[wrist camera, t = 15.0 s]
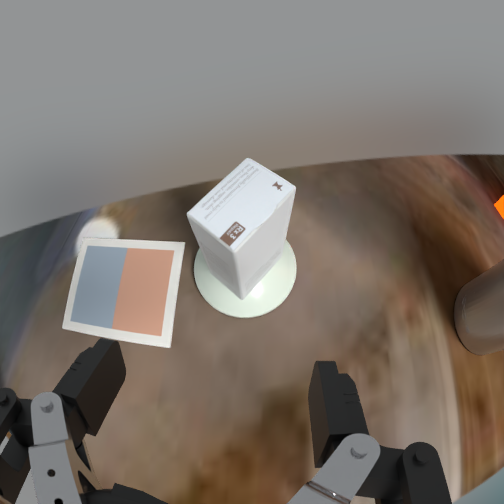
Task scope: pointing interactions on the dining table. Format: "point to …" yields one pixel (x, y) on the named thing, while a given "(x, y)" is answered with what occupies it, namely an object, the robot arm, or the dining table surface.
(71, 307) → the blue and orange card
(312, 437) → the robot arm
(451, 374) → the dining table surface
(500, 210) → the orange juice
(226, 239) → the skincare box
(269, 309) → the coaster
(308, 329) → the dining table surface
